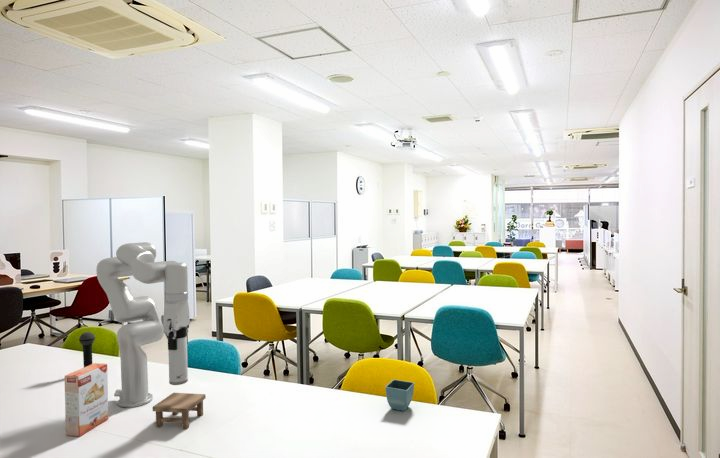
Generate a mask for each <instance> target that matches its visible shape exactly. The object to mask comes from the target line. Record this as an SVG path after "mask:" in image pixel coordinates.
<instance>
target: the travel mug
mask: <svg viewBox="0 0 720 458" xmlns="http://www.w3.org/2000/svg"><path fill="white" fill-rule="evenodd" d="M173 329H174V328H171V330H173ZM171 333H172V334H173V332H171ZM186 333H187V327H184V328H182V329H179V330H177V333H176V338H175V339H177V350H168V349H167V350H168V352H167V353H168V384H169V385H171V386H180V385H184V384H186V383H188V381H189V376H188V375H189V372H188V368H189V366H188V344H187V334H186Z"/></svg>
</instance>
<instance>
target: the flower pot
mask: <svg viewBox="0 0 720 458" xmlns="http://www.w3.org/2000/svg"><path fill="white" fill-rule="evenodd" d="M414 389H415V382H413V381H407V380H399V379H392V380H391V381H390V382H389V383H387V385H385V394H386V401H387V403H388V405H389V407H390V408H391V409H392V410H395V409H396V410H397V411H400V410H401V411H402V412H405V411H406V410H407V409H408V407H409V406H410V404H411V402H412V400H413V397H414Z"/></svg>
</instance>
